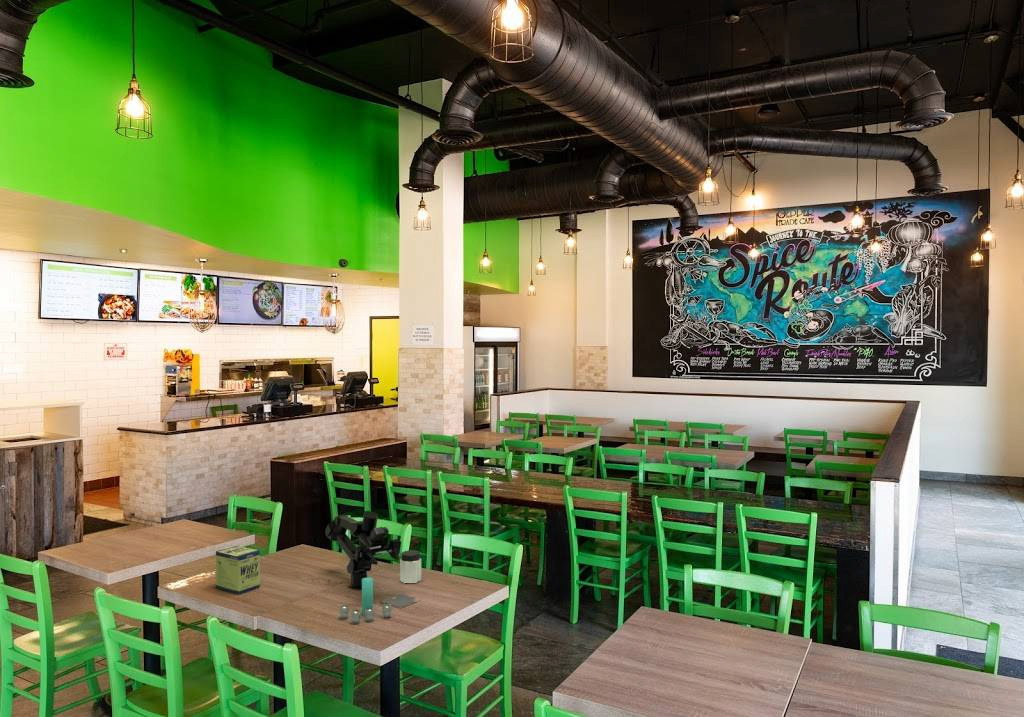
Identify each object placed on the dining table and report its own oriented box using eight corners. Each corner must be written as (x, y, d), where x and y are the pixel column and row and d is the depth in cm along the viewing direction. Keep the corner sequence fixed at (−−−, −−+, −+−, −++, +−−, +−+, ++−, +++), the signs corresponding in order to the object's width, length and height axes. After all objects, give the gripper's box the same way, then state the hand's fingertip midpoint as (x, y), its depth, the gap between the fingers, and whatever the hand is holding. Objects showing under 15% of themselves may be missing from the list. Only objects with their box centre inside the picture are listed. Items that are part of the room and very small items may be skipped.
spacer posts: (336, 618, 256) (336, 607, 256) (365, 607, 267) (365, 597, 267) (364, 628, 247) (364, 616, 247) (393, 616, 258) (393, 605, 258)
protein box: (239, 595, 282) (239, 556, 282) (214, 588, 290) (214, 550, 290) (260, 587, 291) (260, 550, 291) (236, 581, 299) (236, 545, 299)
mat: (380, 602, 272) (380, 601, 272) (401, 594, 281) (401, 593, 281) (400, 608, 266) (400, 607, 266) (421, 600, 275) (421, 599, 275)
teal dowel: (359, 614, 260) (359, 579, 260) (368, 611, 263) (367, 576, 263) (367, 617, 257) (366, 581, 257) (375, 613, 260) (375, 578, 260)
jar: (424, 581, 298) (424, 553, 298) (408, 585, 293) (407, 556, 293) (413, 576, 305) (413, 548, 305) (397, 580, 299) (396, 552, 299)
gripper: (351, 526, 275) (368, 547, 264) (394, 519, 287) (412, 539, 275) (347, 551, 278) (364, 573, 266) (390, 543, 290) (407, 564, 278)
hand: (387, 561), depth 271 cm, fingers open, 9 cm apart
